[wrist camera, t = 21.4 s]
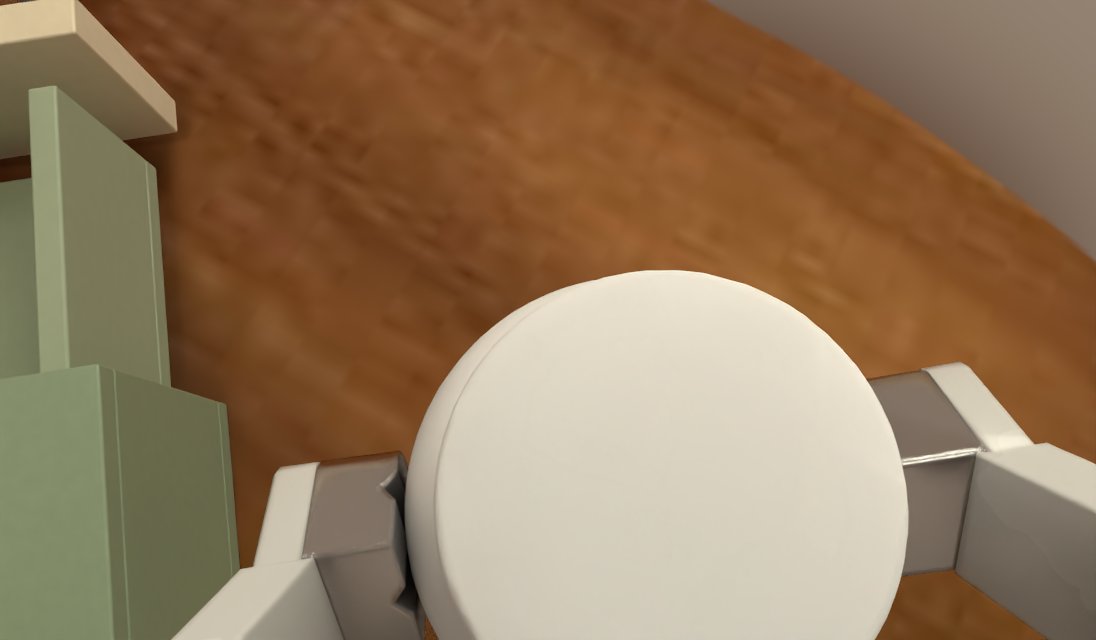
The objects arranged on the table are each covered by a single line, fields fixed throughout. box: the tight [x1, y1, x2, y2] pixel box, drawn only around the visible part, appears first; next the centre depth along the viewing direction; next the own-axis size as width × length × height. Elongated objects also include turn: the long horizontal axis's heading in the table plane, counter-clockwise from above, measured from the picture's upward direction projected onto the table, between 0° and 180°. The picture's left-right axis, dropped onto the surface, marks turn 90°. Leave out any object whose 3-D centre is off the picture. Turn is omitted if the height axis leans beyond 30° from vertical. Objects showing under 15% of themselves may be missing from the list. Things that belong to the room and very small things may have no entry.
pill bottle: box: [405, 270, 909, 640], centre depth 12 cm, size 5×5×10 cm
